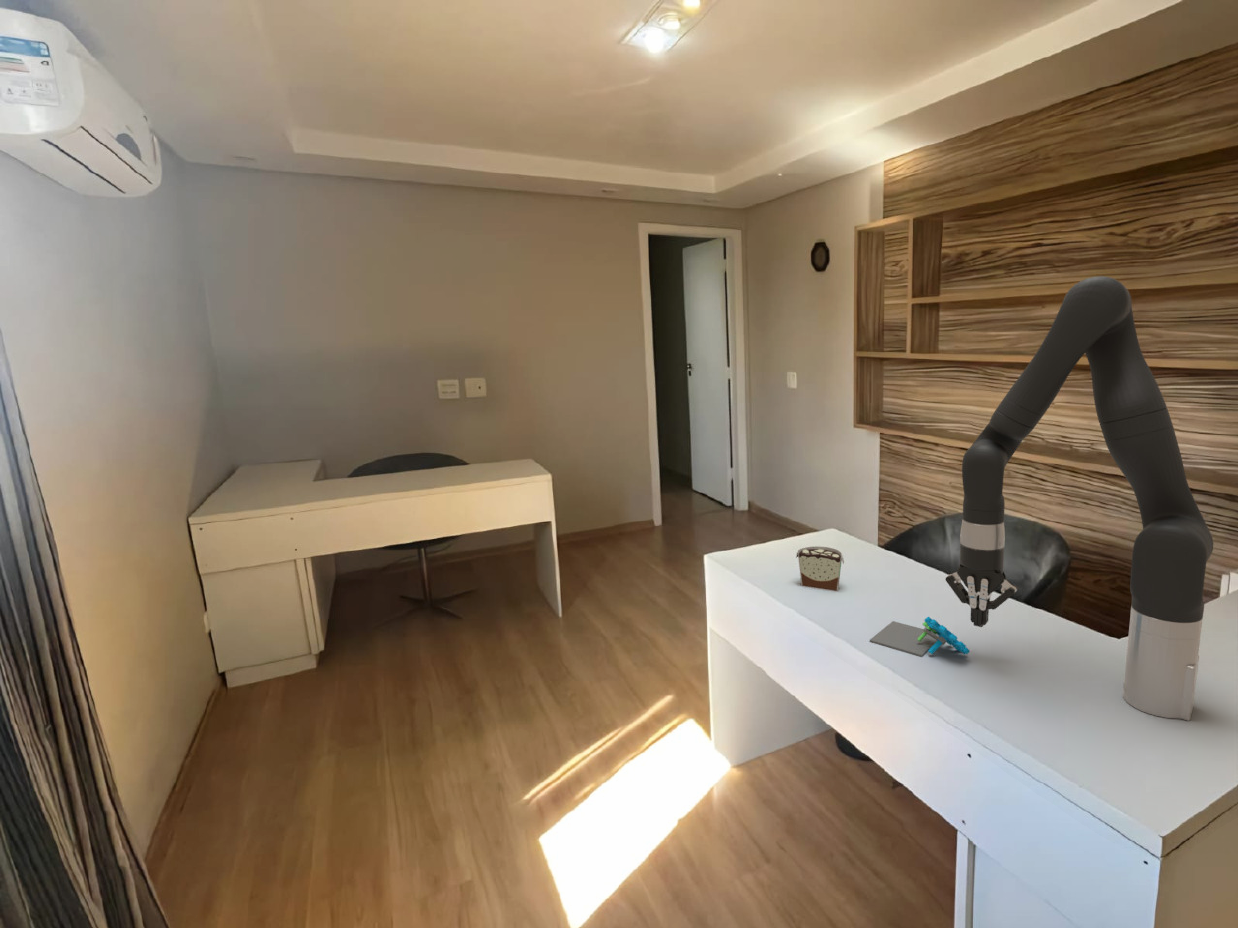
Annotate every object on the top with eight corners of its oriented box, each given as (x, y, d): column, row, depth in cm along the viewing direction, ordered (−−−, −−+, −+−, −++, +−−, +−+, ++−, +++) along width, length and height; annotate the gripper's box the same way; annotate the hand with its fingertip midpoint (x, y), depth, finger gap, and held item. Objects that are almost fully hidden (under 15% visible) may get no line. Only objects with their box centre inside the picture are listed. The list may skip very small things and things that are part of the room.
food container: (849, 584, 172) (849, 548, 170) (843, 592, 166) (843, 556, 165) (803, 578, 178) (802, 543, 176) (796, 585, 173) (795, 550, 171)
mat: (943, 635, 140) (943, 634, 140) (921, 656, 132) (921, 655, 132) (892, 622, 148) (892, 620, 148) (869, 641, 140) (869, 639, 140)
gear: (980, 657, 129) (953, 627, 126) (960, 678, 129) (932, 648, 126) (943, 633, 139) (917, 605, 137) (924, 653, 139) (897, 625, 137)
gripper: (1026, 543, 124) (1022, 627, 127) (952, 532, 133) (950, 610, 136) (1015, 553, 118) (1010, 641, 122) (939, 541, 128) (937, 623, 131)
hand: (979, 624), depth 129 cm, fingers closed
